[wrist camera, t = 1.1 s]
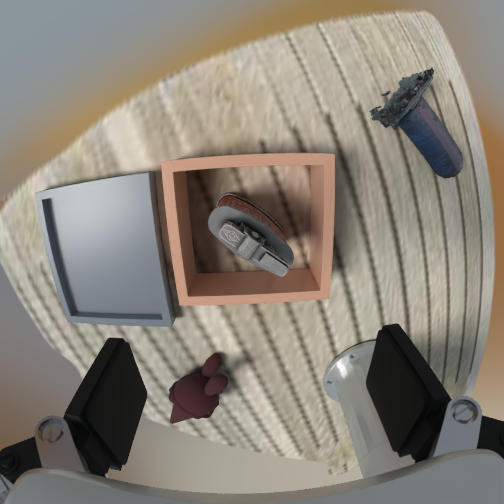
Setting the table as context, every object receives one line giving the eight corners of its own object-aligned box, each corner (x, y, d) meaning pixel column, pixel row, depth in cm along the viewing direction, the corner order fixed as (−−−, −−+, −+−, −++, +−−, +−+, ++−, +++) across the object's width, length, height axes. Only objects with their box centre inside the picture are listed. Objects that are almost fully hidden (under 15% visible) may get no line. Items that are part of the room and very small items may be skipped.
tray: (154, 171, 29) (148, 172, 27) (175, 317, 35) (172, 326, 33) (44, 190, 29) (35, 193, 27) (74, 314, 35) (67, 321, 33)
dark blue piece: (360, 115, 28) (422, 181, 31) (385, 121, 21) (453, 203, 25) (404, 65, 24) (461, 135, 27) (437, 61, 17) (496, 148, 21)
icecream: (195, 444, 36) (252, 391, 33) (150, 435, 32) (201, 378, 30) (188, 411, 42) (238, 355, 39) (148, 399, 39) (194, 339, 36)
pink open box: (319, 152, 28) (334, 153, 23) (317, 275, 33) (329, 298, 28) (176, 159, 28) (160, 161, 23) (189, 281, 33) (179, 305, 28)
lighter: (210, 211, 30) (194, 239, 21) (228, 185, 29) (219, 202, 20) (271, 252, 32) (281, 295, 23) (290, 228, 31) (308, 263, 22)
